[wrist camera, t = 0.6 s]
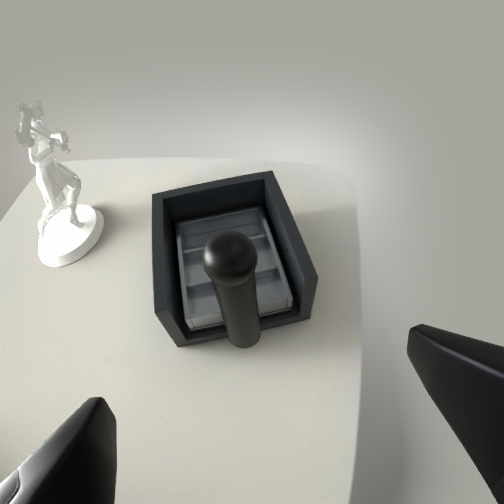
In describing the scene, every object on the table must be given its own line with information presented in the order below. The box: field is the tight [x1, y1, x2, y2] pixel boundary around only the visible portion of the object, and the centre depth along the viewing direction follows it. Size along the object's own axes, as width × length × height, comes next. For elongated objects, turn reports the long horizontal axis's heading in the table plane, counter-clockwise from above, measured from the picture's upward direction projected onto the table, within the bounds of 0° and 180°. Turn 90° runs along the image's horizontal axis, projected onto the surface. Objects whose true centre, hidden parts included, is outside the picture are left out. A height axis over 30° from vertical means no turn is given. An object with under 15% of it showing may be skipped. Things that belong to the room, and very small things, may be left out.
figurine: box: [14, 101, 104, 267], centre depth 26 cm, size 10×10×18 cm
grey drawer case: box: [152, 171, 318, 347], centre depth 26 cm, size 12×11×6 cm
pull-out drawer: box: [175, 205, 293, 348], centre depth 22 cm, size 13×8×11 cm, turn 12°
